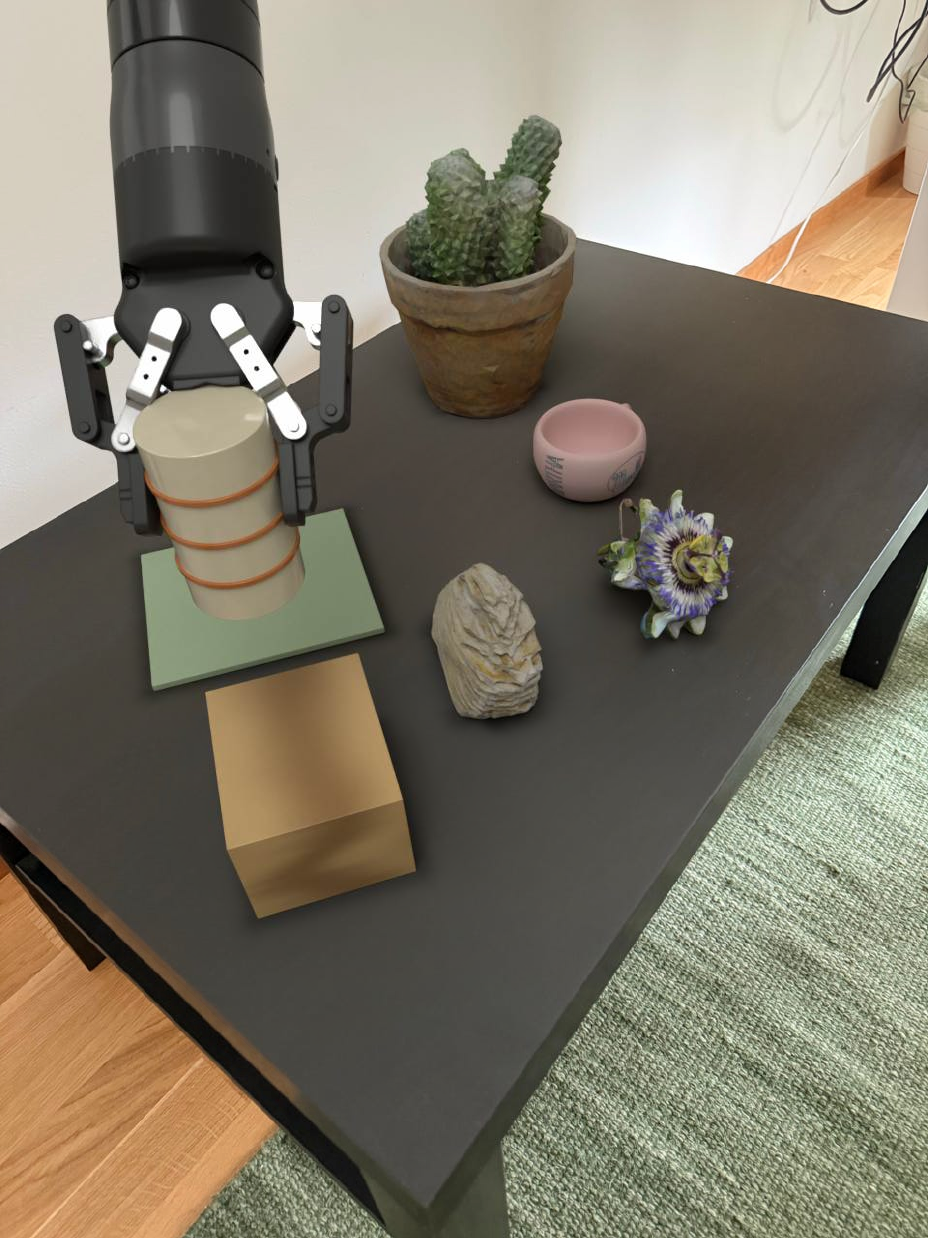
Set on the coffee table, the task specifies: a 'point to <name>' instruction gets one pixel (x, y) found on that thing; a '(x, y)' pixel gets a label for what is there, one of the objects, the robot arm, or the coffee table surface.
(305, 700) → the stand
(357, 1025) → the coffee table surface
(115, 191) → the robot arm
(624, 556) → the passion flower
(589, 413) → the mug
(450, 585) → the fossil tooth
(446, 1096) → the coffee table surface
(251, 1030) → the coffee table surface
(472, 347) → the potted plant
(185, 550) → the banded jar
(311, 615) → the mat
